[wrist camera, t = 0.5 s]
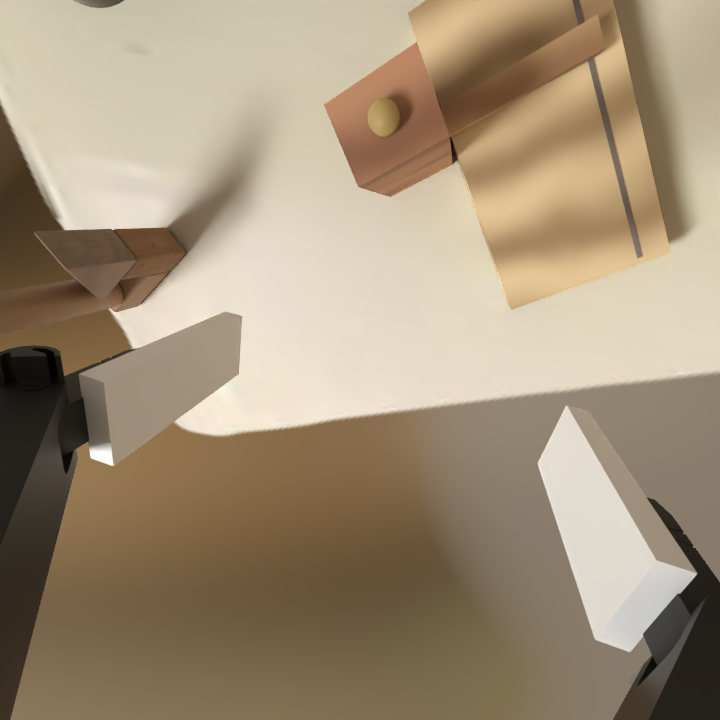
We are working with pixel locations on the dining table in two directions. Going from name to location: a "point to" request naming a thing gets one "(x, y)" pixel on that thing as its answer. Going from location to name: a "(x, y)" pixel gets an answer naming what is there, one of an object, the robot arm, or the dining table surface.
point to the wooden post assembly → (93, 275)
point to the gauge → (436, 109)
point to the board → (547, 145)
